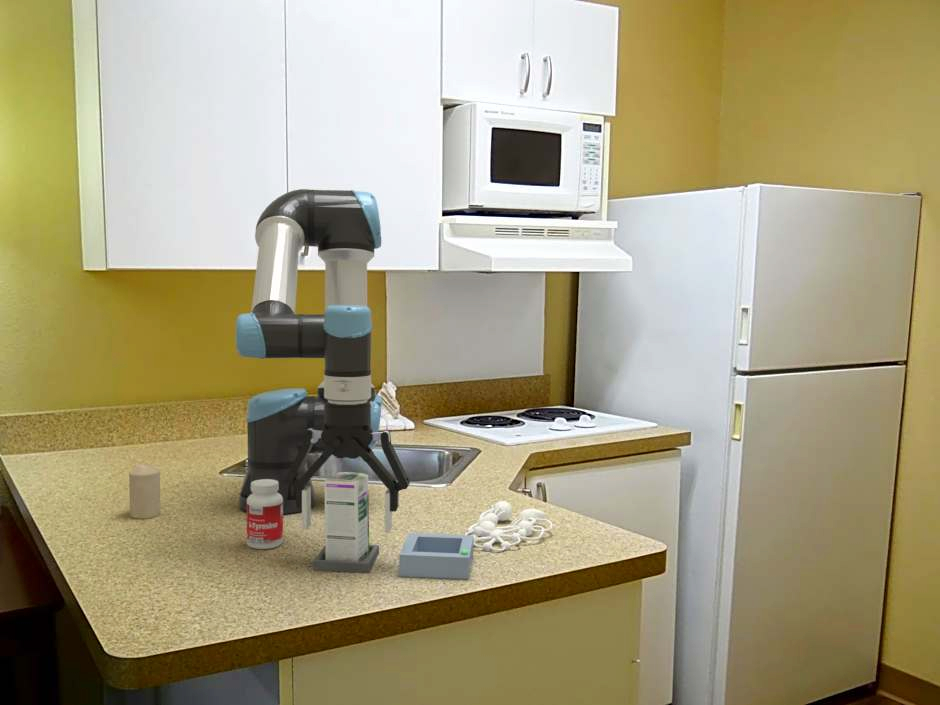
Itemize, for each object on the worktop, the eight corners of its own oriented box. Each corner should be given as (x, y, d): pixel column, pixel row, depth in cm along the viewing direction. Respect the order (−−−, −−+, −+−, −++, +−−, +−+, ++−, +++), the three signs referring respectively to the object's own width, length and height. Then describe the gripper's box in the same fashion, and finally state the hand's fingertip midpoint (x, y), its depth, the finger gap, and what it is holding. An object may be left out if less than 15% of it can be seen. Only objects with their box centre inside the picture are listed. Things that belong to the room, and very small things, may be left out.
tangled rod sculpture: (518, 567, 142) (521, 543, 141) (444, 545, 148) (446, 523, 148) (560, 532, 159) (563, 511, 158) (492, 514, 165) (494, 494, 165)
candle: (166, 512, 164) (165, 462, 163) (147, 520, 159) (146, 468, 158) (143, 509, 166) (142, 459, 165) (123, 517, 161) (122, 465, 160)
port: (399, 576, 133) (399, 551, 132) (408, 552, 144) (409, 530, 143) (468, 579, 132) (469, 554, 131) (473, 555, 143) (473, 532, 142)
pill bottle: (243, 550, 143) (243, 486, 142) (250, 538, 149) (249, 477, 148) (280, 549, 144) (280, 486, 143) (285, 538, 150) (285, 477, 149)
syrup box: (358, 569, 135) (358, 481, 134) (323, 566, 136) (323, 478, 135) (369, 557, 141) (370, 472, 139) (336, 554, 142) (336, 470, 141)
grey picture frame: (313, 570, 134) (313, 561, 134) (326, 551, 143) (326, 543, 143) (368, 572, 134) (369, 563, 134) (378, 553, 143) (378, 545, 143)
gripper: (264, 402, 133) (265, 532, 135) (421, 406, 131) (419, 538, 133) (278, 395, 141) (279, 519, 143) (427, 399, 139) (425, 524, 141)
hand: (347, 529), depth 138 cm, fingers open, 13 cm apart
